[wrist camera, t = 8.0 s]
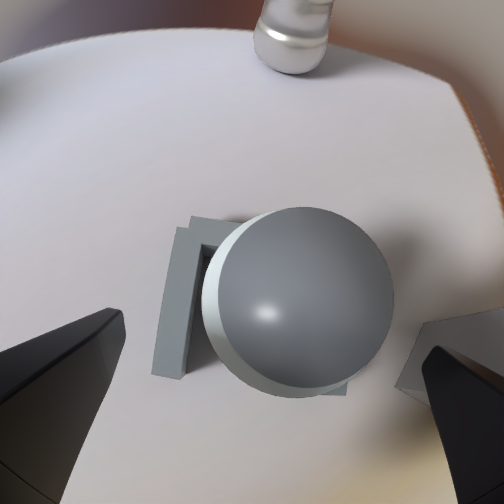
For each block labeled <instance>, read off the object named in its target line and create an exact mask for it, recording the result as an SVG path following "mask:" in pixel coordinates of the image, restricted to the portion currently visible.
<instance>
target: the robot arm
mask: <svg viewBox="0 0 504 504" xmlns="http://www.w3.org/2000/svg"><path fill="white" fill-rule="evenodd" d="M125 338H126V331H125V324H124V317H123V313H122V311H121V310H118V309H114V308H106V309H103V310H101V311H98V312H96V313H93V314H91V315H89V316H86V317H84V318H81V319H79V320H77V321H74V322H72V323H69V324H67V325H65V326H62V327H60V328H57V329H55V330H52V331H50V332H48V333H45V334H43V335H40V336H38V337H36V338H33V339H31V340H28V341H26V342H24V343H21V344H19V345H16V346H14V347H12V348H9V349H7V350H4V351H2V352H0V504H60V501H61V498H62V495H63V493H64V490H65V488H66V485H67V482H68V480H69V477H70V475H71V472H72V470H73V467H74V465H75V462H76V460H77V458H78V455H79V453H80V450H81V448H82V446H83V443H84V441H85V439H86V436H87V434H88V432H89V430H90V427H91V425H92V423H93V421H94V418H95V416H96V414H97V412H98V410H99V408H100V405H101V403H102V401H103V399H104V397H105V395H106V393H107V390H108V388H109V386H110V384H111V381H112V378H113V375H114V372H115V369H116V366H117V363H118V360H119V357H120V354H121V351H122V349H123V346H124V343H125ZM421 372H422V376H423V380H424V383H425V387H426V391H427V395H428V399H429V403H430V407H431V410H432V413H433V416H434V419H435V422H436V425H437V428H438V431H439V435H440V438H441V441H442V444H443V448H444V451H445V454H446V458H447V461H448V465H449V469H450V472H451V476H452V480H453V484H454V488H455V492H456V497H457V501H458V504H504V377H503V376H501V375H499V374H498V373H496V372H494V371H492V370H490V369H489V368H487V367H485V366H483V365H481V364H479V363H478V362H476V361H474V360H472V359H470V358H469V357H467V356H465V355H463V354H461V353H459V352H458V351H456V350H454V349H452V348H450V347H448V346H446V345H435V346H434V347H433V348H432V350H431V351H430V353H429V354H428V356H427V357H426V359H425V360H424V361H423V363H422V367H421Z"/></svg>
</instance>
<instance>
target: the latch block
mask: <svg viewBox="0 0 504 504" xmlns="http://www.w3.org/2000/svg"><path fill="white" fill-rule="evenodd" d="M435 345H446V346H448V347H450V348H452V349H454V350H456V351H458V352H459V353H461V354H463V355H465V356H467V357H469V358H470V359H472V360H474V361H476V362H478V363H479V364H481V365H483V366H485V367H487V368H489V369H490V370H492V371H494V372H496V373H498V374H499V375H501V376H503V377H504V307H502V308H498V309H494V310H489V311H485V312H480V313H475V314H471V315H466V316H461V317H455V318H450V319H445V320H439V321H433V322H427V323H424V324H423V327H422V329H421V331H420V334H419V336H418V338H417V341H416V343H415V345H414V348H413V350H412V352H411V354H410V356H409V358H408V361H407V363H406V365H405V367H404V369H403V371H402V373H401V375H400V377H399V379H398V381H397V383H396V385H395V387H396V388H398V389H399V390H401V391H403V392H405V393H406V394H408V395H410V396H412V397H414V398H415V399H417V400H419V401H421V402H422V403H424V404H426V405H428V406H430V403H429V399H428V395H427V391H426V387H425V383H424V380H423V376H422V372H421V367H422V363H423V361H424V360H425V359H426V357H427V356H428V354H429V353H430V351H431V350H432V348H433V347H434V346H435Z"/></svg>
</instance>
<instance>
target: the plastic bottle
mask: <svg viewBox="0 0 504 504" xmlns="http://www.w3.org/2000/svg"><path fill="white" fill-rule="evenodd" d="M334 2H335V0H265V2H264V6H263V10H262V14H261V16H260V18H259V20H258V22H257V25H256V28H255V32H254V36H253V39H254V49H255V52H256V54H257V55H258V57H259V58H260V60H261V61H262V62H263V63H264V64H265V65H267V66H268V67H270V68H272V69H274V70H277V71H280V72H283V73H289V74H302V73H306V72H308V71H310V70H312V69H314V68H316V67H317V66H318V65H319V63H320V62H321V60H322V58H323V57H324V55H325V53H326V47H327V41H328V27H329V23H330V19H331V14H332V9H333V5H334Z"/></svg>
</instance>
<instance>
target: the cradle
mask: <svg viewBox="0 0 504 504" xmlns="http://www.w3.org/2000/svg"><path fill="white" fill-rule="evenodd" d="M241 225H242V223H236V222H229V221H222V220H216V219H209V218H202V217H195V216H191V219H190V224H189V228H182V227H177V229H176V234H175V238H174V243H173V248H172V253H171V258H170V263H169V268H168V273H167V278H166V283H165V289H164V294H163V300H162V306H161V312H160V318H159V324H158V330H157V337H156V344H155V351H154V358H153V365H152V373H151V374H153V375H157V376H162V377H167V378H172V379H178V380H180V379H181V378H182V377H184V376H185V374H186V366H187V359H188V352H189V345H190V338H191V331H192V324H193V318H194V311H195V305H196V299H197V292H198V286H199V280H200V274H201V269H202V263H203V257H211V258H213V256H214V254H215V252H216V251H217V249H218V248H219V246H220V245H221V244H222V243H223V241H224V240H225V239H226V238H227V237H228V236H229V235H230V234H231V233H232V232H233V231H234V230H235V229H237V228H238V227H239V226H241ZM347 383H348V382H347ZM347 383H345V384H343V385H342V386H340V387H338V388H336V389H334V390H332V391H329V392H327V393H324V394H321V395H346V391H347Z"/></svg>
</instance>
